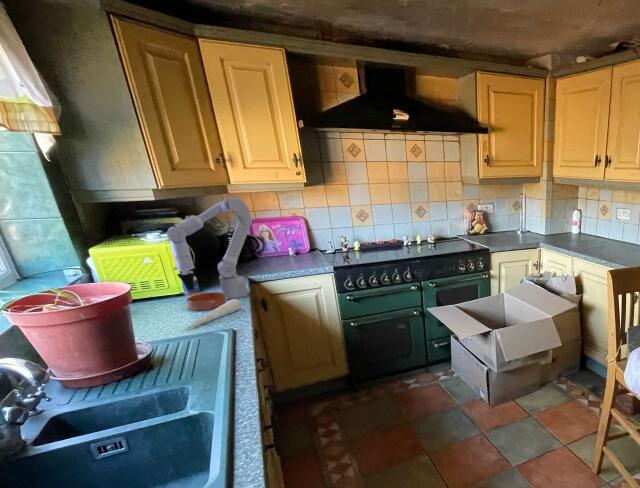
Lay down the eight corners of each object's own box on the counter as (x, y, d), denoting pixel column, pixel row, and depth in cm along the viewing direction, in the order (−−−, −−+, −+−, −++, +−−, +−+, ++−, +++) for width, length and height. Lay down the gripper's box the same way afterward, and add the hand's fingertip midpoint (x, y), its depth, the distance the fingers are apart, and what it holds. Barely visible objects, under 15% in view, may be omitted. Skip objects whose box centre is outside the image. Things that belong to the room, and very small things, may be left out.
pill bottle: (192, 296, 177) (186, 274, 174) (181, 295, 178) (175, 273, 175) (203, 292, 182) (197, 270, 179) (193, 292, 183) (187, 270, 180)
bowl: (226, 299, 184) (224, 290, 183) (226, 307, 174) (224, 298, 173) (190, 304, 178) (187, 295, 176) (188, 313, 168) (185, 303, 166)
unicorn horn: (177, 329, 151) (173, 317, 150) (234, 309, 173) (231, 297, 171) (187, 330, 150) (183, 318, 149) (243, 310, 172) (240, 298, 170)
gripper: (172, 254, 178) (181, 285, 183) (168, 260, 167) (178, 293, 171) (192, 252, 182) (200, 282, 186) (190, 258, 170) (199, 290, 175)
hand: (191, 287), depth 179 cm, fingers closed on pill bottle, 5 cm apart
